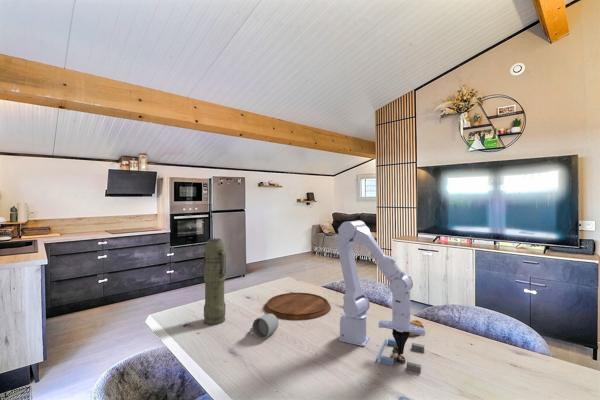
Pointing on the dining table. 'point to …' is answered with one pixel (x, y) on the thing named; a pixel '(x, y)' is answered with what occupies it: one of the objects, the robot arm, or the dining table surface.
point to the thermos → (214, 282)
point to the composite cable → (397, 355)
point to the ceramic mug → (264, 326)
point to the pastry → (416, 323)
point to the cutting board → (297, 306)
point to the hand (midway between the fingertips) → (401, 352)
